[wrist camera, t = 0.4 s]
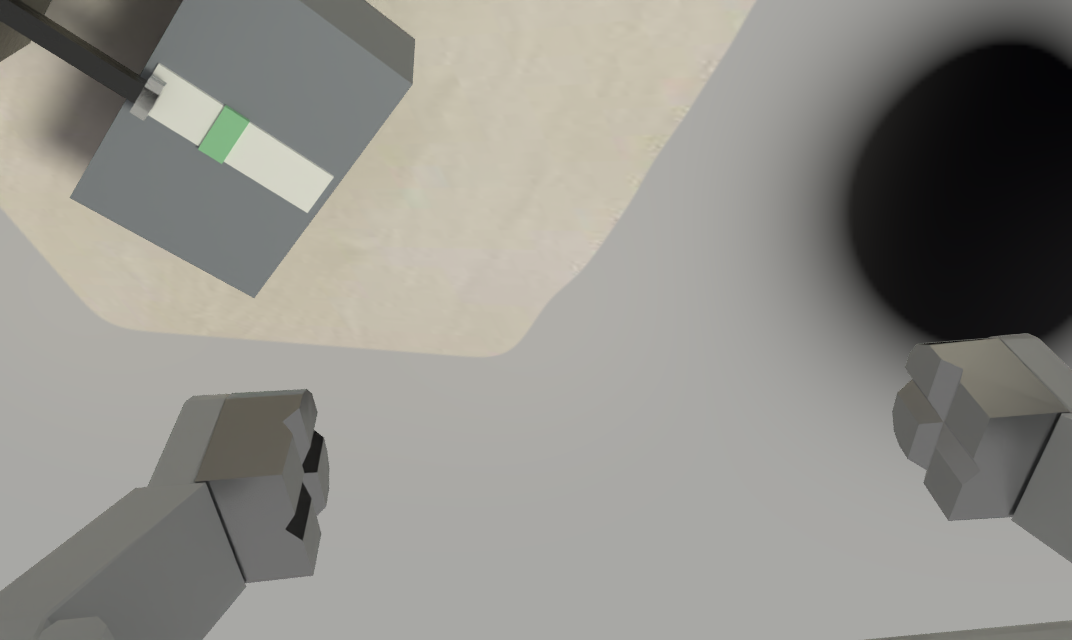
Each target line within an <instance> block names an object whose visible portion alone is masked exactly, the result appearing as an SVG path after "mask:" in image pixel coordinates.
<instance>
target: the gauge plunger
mask: <svg viewBox="0 0 1072 640" xmlns="http://www.w3.org/2000/svg"><path fill="white" fill-rule="evenodd" d="M50 2H51V0H0V62H1V61H2V60H4V59H6V58H7V57H9V56H10V55H12V54H13V53H15V52H17V51H18V50H20V49H21V48H23V47H25V46H26V45H28V44H29V43H30V42H31V40H32V41H33V42H35V43H37V44H38V45H40V46H42V47H43V48H45V49H46V50H48V51H50V52H51V53H53V54H55V55H56V56H58V57H59V58H61V59H63V60H64V61H66V62H68V63H69V64H71V65H72V66H74V67H76V68H77V69H79V70H81V71H82V72H84V73H85V74H87V75H89V76H90V77H92V78H94V79H95V80H97V81H98V82H100V83H102V84H103V85H105V86H106V87H108V88H110V89H111V90H113V91H115V92H116V93H118V94H119V95H121V96H123V97H124V98H126V99H128V100H129V101H131V102H132V103H134V105H133V107H132V109H131V110H130V113H131V114H133V115H135V116H136V117H138V118H140V119H141V120H143V121H144V120H145V119H146V118H147V116H148V115H149V113H150V111H151V110H152V108H153V107H154V105H155V103H156V102H157V100H158V98H159V97H160V95H161V93H162V92H163V89H164V88H165V86H166V84H167V83H166V82H164V81H163V80H161V79H160V78H158V77H157V76H155V75H153V74H152V76H151V77H150V78H149V79H148V81H147V80H145V79H144V78H142V77H141V76H139V75H137V74H136V73H134V72H133V71H131V70H130V69H128V68H126V67H125V66H123V65H122V64H120V63H119V62H117V61H115V60H114V59H112V58H111V57H109V56H107V55H106V54H104V53H103V52H101V51H100V50H98V49H96V48H95V47H93V46H92V45H90V44H89V43H87V42H85V41H84V40H82V39H81V38H79V37H77V36H76V35H74V34H73V33H71V32H70V31H68V30H66V29H65V28H63V27H62V26H60V25H59V24H57V23H55V22H54V21H52V20H51V19H49V18H48V17H46V16H44V14H45V12H46V10H47V8H48V6H49V4H50Z"/></svg>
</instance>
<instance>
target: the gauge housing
mask: <svg viewBox="0 0 1072 640" xmlns="http://www.w3.org/2000/svg"><path fill="white" fill-rule="evenodd" d="M414 49H415V39H414V38H413V37H411V36H410V35H409V34H407V33H406V32H405V31H404V30H402V29H401V28H400V27H398V26H397V25H396V24H395V23H393V22H392V21H391V20H389V19H388V18H387V17H386V16H384V15H383V14H382V13H380V12H379V11H378V10H377V9H375V8H374V7H373V6H371V5H370V4H369V3H367V2H366V1H365V0H183V1H182V3H181V5H180V7H179V8H178V10H177V12H176V14H175V15H174V17H173V19H172V21H171V22H170V24H169V26H168V28H167V29H166V31H165V33H164V35H163V36H162V38H161V40H160V41H159V43H158V45H157V47H156V48H155V50H154V52H153V54H152V55H151V57H150V59H149V61H148V62H147V64H146V66H145V68H144V69H143V71H142V73H141V75H140V76H141V77H142V78H144V79H145V80H147V81H148V79H149V78H150V77H151V76H152V74H153V75H155V76H157V77H158V78H160V79H161V80H163V81H164V82H166V83H167V84H166V86H165V88H164V89H163V92H162V93H161V95H160V97H159V98H158V100H157V102H156V103H155V105H154V107H153V108H152V110H151V111H150V113H149V115H148V116H147V118H146V119H145V120H144V121H143V120H141V119H140V118H138V117H136V116H135V115H133V114H131V113H130V110H131V109H132V107H133V105H134V103H132V102H131V101H129V100H128V99H126V101H125V102H124V104H123V106H122V108H121V109H120V111H119V113H118V115H117V116H116V118H115V120H114V122H113V123H112V125H111V127H110V128H109V130H108V132H107V134H106V135H105V137H104V139H103V141H102V142H101V144H100V146H99V148H98V149H97V151H96V153H95V155H94V156H93V158H92V160H91V162H90V163H89V165H88V167H87V169H86V170H85V172H84V174H83V175H82V177H81V179H80V181H79V182H78V184H77V186H76V188H75V189H74V191H73V193H72V195H71V196H70V198H71V199H73V200H75V201H77V202H78V203H80V204H82V205H84V206H86V207H88V208H89V209H91V210H93V211H95V212H97V213H99V214H100V215H102V216H104V217H106V218H108V219H110V220H111V221H113V222H115V223H117V224H119V225H121V226H123V227H124V228H126V229H128V230H130V231H132V232H134V233H135V234H137V235H139V236H141V237H143V238H145V239H146V240H148V241H150V242H152V243H154V244H156V245H157V246H159V247H161V248H163V249H165V250H167V251H168V252H170V253H172V254H174V255H176V256H178V257H180V258H181V259H183V260H185V261H187V262H189V263H191V264H192V265H194V266H196V267H198V268H200V269H202V270H203V271H205V272H207V273H209V274H211V275H213V276H214V277H216V278H218V279H220V280H222V281H224V282H225V283H227V284H229V285H231V286H233V287H235V288H237V289H238V290H240V291H242V292H244V293H246V294H248V295H249V296H251V297H253V298H255V296H256V295H257V294H258V292H259V291H260V290H261V288H262V287H263V286H264V284H265V283H266V281H267V280H268V279H269V277H270V276H271V275H272V273H273V272H274V271H275V269H276V268H277V267H278V265H279V264H280V263H281V261H282V260H283V259H284V257H285V256H286V254H287V253H288V252H289V250H290V249H291V248H292V246H293V245H294V244H295V242H296V241H297V240H298V238H299V237H300V236H301V234H302V233H303V231H304V230H305V229H306V227H307V226H308V225H309V223H310V222H311V221H312V219H313V218H314V217H315V215H316V214H317V213H318V211H319V210H320V209H321V207H322V206H323V204H324V203H325V202H326V200H327V199H328V198H329V196H330V195H331V194H332V192H333V191H334V190H335V188H336V187H337V186H338V184H339V183H340V182H341V180H342V179H343V177H344V176H345V175H346V173H347V172H348V171H349V169H350V168H351V167H352V165H353V164H354V163H355V161H356V160H357V159H358V157H359V156H360V155H361V153H362V152H363V150H364V149H365V148H366V146H367V145H368V144H369V142H370V141H371V140H372V138H373V137H374V136H375V134H376V133H377V132H378V130H379V129H380V128H381V126H382V125H383V123H384V122H385V121H386V119H387V118H388V117H389V115H390V114H391V113H392V111H393V110H394V109H395V107H396V106H397V105H398V103H399V102H400V101H401V99H402V98H403V96H404V95H405V94H406V92H407V91H408V90H409V88H410V87H411V86H412V84H413V66H414Z"/></svg>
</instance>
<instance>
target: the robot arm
mask: <svg viewBox="0 0 1072 640" xmlns="http://www.w3.org/2000/svg"><path fill="white" fill-rule="evenodd" d="M905 368H906V370H907V372H908V373H909V375H910V377H911V378H912V380H911V381H910V382H909V383H907V384H906V385H905V386H904V387H903V388H902V389H901V390H900V391H899V392H898V393H897V396H896V400H895V403H894V407H893V411H892V412H893V425H894V432H895V435H896V438H897V441H898V443H899V446H900V447H901V449H902V451H903V452H904V454H905V455H906V457H907V459H909V460H911V461H912V462H914V463H916V464H917V465H919V466H921V467H923V468H924V469H926V470H927V471H926V475H925V480H924V485H925V486H926V488H927V489H928V491H929V492H930V494H931V495H932V497H933V498H934V500H935V501H936V502H937V504H938V506H939V507H940V508H941V510H942V512H943V513H944V515H945V516H946V518H947V519H948V520H949V521H953V520H970V519H987V518H1004V517H1012V519H1011V520H1012V521H1013V522H1015V523H1016V524H1018V525H1019V526H1021V527H1022V528H1023V529H1025V530H1026V531H1028V532H1029V533H1030V534H1032V535H1033V536H1035V537H1036V538H1038V539H1039V540H1040V541H1042V542H1043V543H1045V544H1046V545H1047V546H1049V547H1050V548H1052V549H1053V550H1054V551H1056V552H1057V553H1059V554H1060V555H1062V556H1063V557H1064V558H1066V559H1067V560H1068V561H1070V562H1071V563H1072V370H1071V369H1070V368H1069V367H1068V366H1067V365H1066V364H1065V363H1064V362H1063V361H1062V360H1061V359H1060V358H1059V357H1058V356H1057V355H1056V354H1055V353H1054V352H1052V351H1051V350H1050V349H1049V348H1048V347H1047V346H1046V345H1045V344H1044V343H1043V342H1042V341H1041V340H1040V339H1039V338H1037V337H1035V336H1032V335H1030V334H1027V333H1025V334H1015V335H1005V336H994V337H990V338H983V339H972V340H958V341H947V342H933V343H921V344H917V345H916V346H915V347H914V348H913V349H912V351H911V352H910V354H909V357H908V360H907V363H906V366H905ZM316 417H317V409H316V406H315V402H314V399H313V396H312V393H311V392H310V391H308V390H307V389H302V390H283V391H264V392H246V393H232V394H217V395H202V396H192V397H191V398H190V399H188V400H187V401H186V402H185V403H184V405H183V407H182V410H181V412H180V414H179V416H178V419H177V421H176V423H175V426H174V428H173V430H172V432H171V434H170V437H169V439H168V441H167V444H166V446H165V448H164V450H163V453H162V455H161V457H160V459H159V462H158V464H157V466H156V468H155V471H154V473H153V475H152V477H151V480H150V482H149V484H148V486H147V487H143V488H135V489H134V490H132V491H131V492H130V493H128V494H127V495H126V496H124V497H123V498H122V499H121V500H119V501H118V502H117V503H115V504H114V505H113V506H111V507H110V508H109V509H107V510H106V511H105V512H103V513H102V514H101V515H100V516H98V517H97V518H96V519H94V520H93V521H92V522H90V523H89V524H88V525H86V526H85V527H84V528H83V529H81V530H80V531H79V532H77V533H76V534H75V535H74V536H72V537H71V538H69V539H68V540H67V541H66V542H64V543H63V544H62V545H60V546H59V547H58V548H56V549H55V550H54V551H53V552H51V553H50V554H49V555H47V556H46V557H45V558H43V559H42V560H41V561H39V562H38V563H37V564H36V565H34V566H33V567H32V568H30V569H29V570H28V571H26V572H25V573H24V574H22V575H21V576H20V577H19V578H17V579H16V580H15V581H13V582H12V583H11V584H9V585H8V586H7V587H5V588H4V589H3V590H1V591H0V640H202V639H203V638H204V637H205V636H206V634H207V633H208V632H209V631H210V630H211V629H212V627H213V626H214V625H215V624H216V622H217V621H218V620H219V619H220V617H221V616H222V615H223V614H224V613H225V612H226V611H227V609H228V608H229V607H230V606H231V605H232V603H233V602H234V601H235V600H236V598H237V597H238V596H239V595H240V593H241V592H242V591H243V590H244V589H245V587H246V585H245V583H251V582H260V581H269V580H278V579H287V578H295V577H304V576H312V575H313V574H314V569H315V564H316V558H317V553H318V547H319V541H320V537H321V531H320V527H319V524H318V520H317V515H318V514H319V513H320V512H321V511H322V510H323V509H324V508H325V507H326V503H327V498H328V491H329V462H328V454H327V448H326V444H325V440H324V437H323V436H321V435H320V434H319V433H317V432H316V431H315V430H314V427H315V422H316ZM866 640H1072V620H1070V621H1060V622H1048V623H1038V624H1026V625H1016V626H1005V627H995V628H984V629H973V630H963V631H953V632H941V633H930V634H920V635H909V636H898V637H888V638H877V639H866Z"/></svg>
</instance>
